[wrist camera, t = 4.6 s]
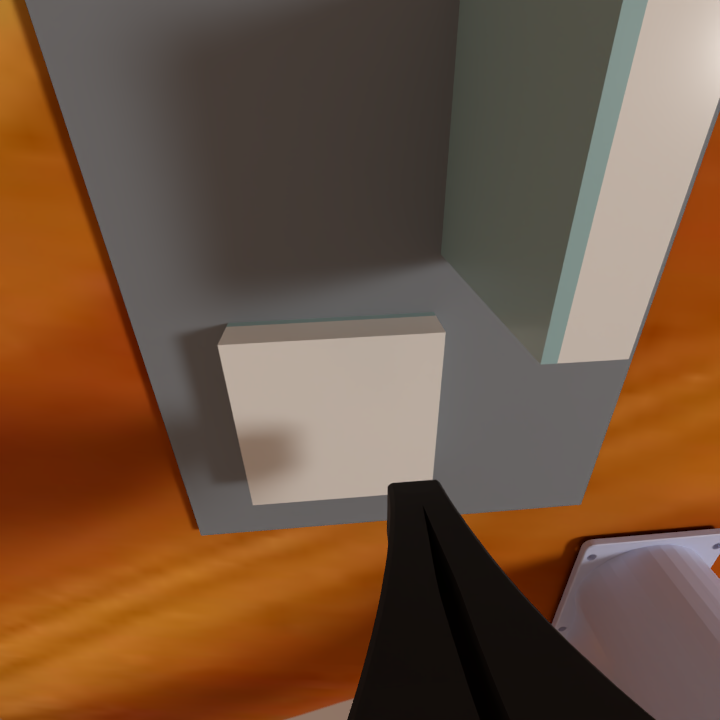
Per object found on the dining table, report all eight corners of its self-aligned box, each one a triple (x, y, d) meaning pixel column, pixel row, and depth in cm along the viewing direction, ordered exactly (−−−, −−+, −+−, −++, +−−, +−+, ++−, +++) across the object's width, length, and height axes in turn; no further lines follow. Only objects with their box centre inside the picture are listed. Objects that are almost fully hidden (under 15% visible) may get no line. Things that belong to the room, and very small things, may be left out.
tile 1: (431, 491, 16) (252, 505, 16) (423, 462, 18) (258, 474, 17) (445, 332, 13) (217, 345, 12) (433, 312, 14) (227, 323, 14)
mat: (576, 498, 20) (580, 504, 20) (203, 528, 19) (201, 535, 19) (833, -258, 9) (854, -273, 8) (-57, -281, 8) (-75, -300, 7)
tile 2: (489, 252, 13) (628, 358, 7) (440, 254, 13) (540, 364, 7) (528, -41, 10) (859, -305, 4) (462, -40, 10) (692, -308, 4)
